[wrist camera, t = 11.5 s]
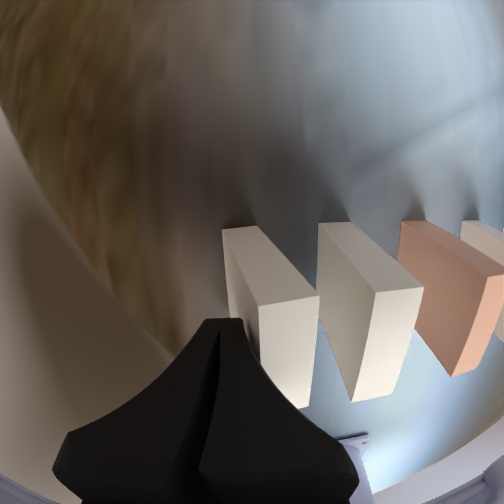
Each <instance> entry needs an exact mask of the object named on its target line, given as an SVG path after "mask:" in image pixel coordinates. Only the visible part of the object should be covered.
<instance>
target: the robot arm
mask: <svg viewBox="0 0 504 504" xmlns="http://www.w3.org/2000/svg"><path fill="white" fill-rule="evenodd" d="M369 441H370V436H369V435H363V436H359V437H354V438H349V439H344V440H338V441H337V440H336V439H334V438H333V437H331V436H330V435H328V434H327V433H326V432H324V431H323V430H321V429H320V428H319V427H317V426H316V425H315V424H314V423H313V422H311V421H310V420H309V419H308V418H307V417H305V416H304V415H303V414H302V413H301V412H300V411H299V410H298V409H297V408H296V407H295V406H294V405H293V404H292V403H291V402H290V401H289V400H288V399H287V398H286V397H285V396H284V395H283V393H282V392H281V391H280V390H279V389H278V388H277V386H276V385H275V384H274V383H273V381H272V380H271V379H270V377H269V376H268V374H267V373H266V371H265V370H264V368H263V367H262V365H261V364H260V362H259V360H258V358H257V357H256V355H255V353H254V351H253V349H252V347H251V345H250V343H249V340H248V338H247V335H246V333H245V329H244V324H243V320H242V319H241V318H215V319H205V320H204V321H203V323H202V324H201V326H200V327H199V329H198V330H197V332H196V333H195V334H194V336H193V337H192V339H191V340H190V341H189V343H188V344H187V345H186V346H185V348H184V349H183V350H182V351H181V353H180V354H179V355H178V356H177V357H176V359H175V360H174V361H173V362H172V363H171V365H169V367H167V369H166V370H165V371H164V372H163V373H162V374H161V375H160V376H159V377H158V378H157V379H156V380H154V381H153V382H152V383H151V384H150V385H149V386H148V387H147V388H145V389H144V390H143V391H142V392H140V393H139V394H137V395H136V396H135V397H133V398H132V399H131V400H129V401H128V402H127V403H125V404H124V405H122V406H121V407H119V408H117V409H116V410H114V411H112V412H111V413H109V414H107V415H105V416H104V417H102V418H100V419H98V420H96V421H94V422H92V423H89V424H87V425H85V426H83V427H81V428H78V429H76V430H74V431H71V432H68V434H67V436H66V438H65V439H64V441H63V444H62V446H61V448H60V450H59V453H58V455H57V458H56V460H55V462H54V465H53V468H52V471H53V473H54V475H55V476H56V478H57V479H58V480H59V481H60V482H61V483H62V484H63V485H64V486H66V487H67V488H68V489H69V490H70V491H72V492H73V493H74V494H76V495H77V496H78V497H79V498H80V499H82V503H81V504H375V503H374V499H373V496H372V492H371V488H370V485H369V482H368V478H367V475H366V471H365V468H364V465H363V461H362V458H361V457H362V455H363V453H364V451H365V449H366V447H367V445H368V443H369ZM0 504H59V503H57V502H55V501H52V500H50V499H48V498H46V497H43V496H41V495H39V494H37V493H35V492H33V491H31V490H29V489H27V488H25V487H23V486H22V485H20V484H18V483H16V482H14V481H13V480H11V479H9V478H7V477H6V476H4V475H2V474H1V473H0ZM423 504H504V455H503V456H501V457H500V458H498V459H497V460H496V461H495V462H493V463H492V464H491V465H490V466H489V467H488V468H487V469H486V470H485V471H484V472H483V474H481V475H479V476H478V477H476V478H474V479H472V480H471V481H469V482H467V483H465V484H463V485H461V486H459V487H458V488H456V489H454V490H452V491H450V492H447V493H445V494H443V495H441V496H439V497H437V498H435V499H432V500H430V501H428V502H425V503H423Z"/></svg>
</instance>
